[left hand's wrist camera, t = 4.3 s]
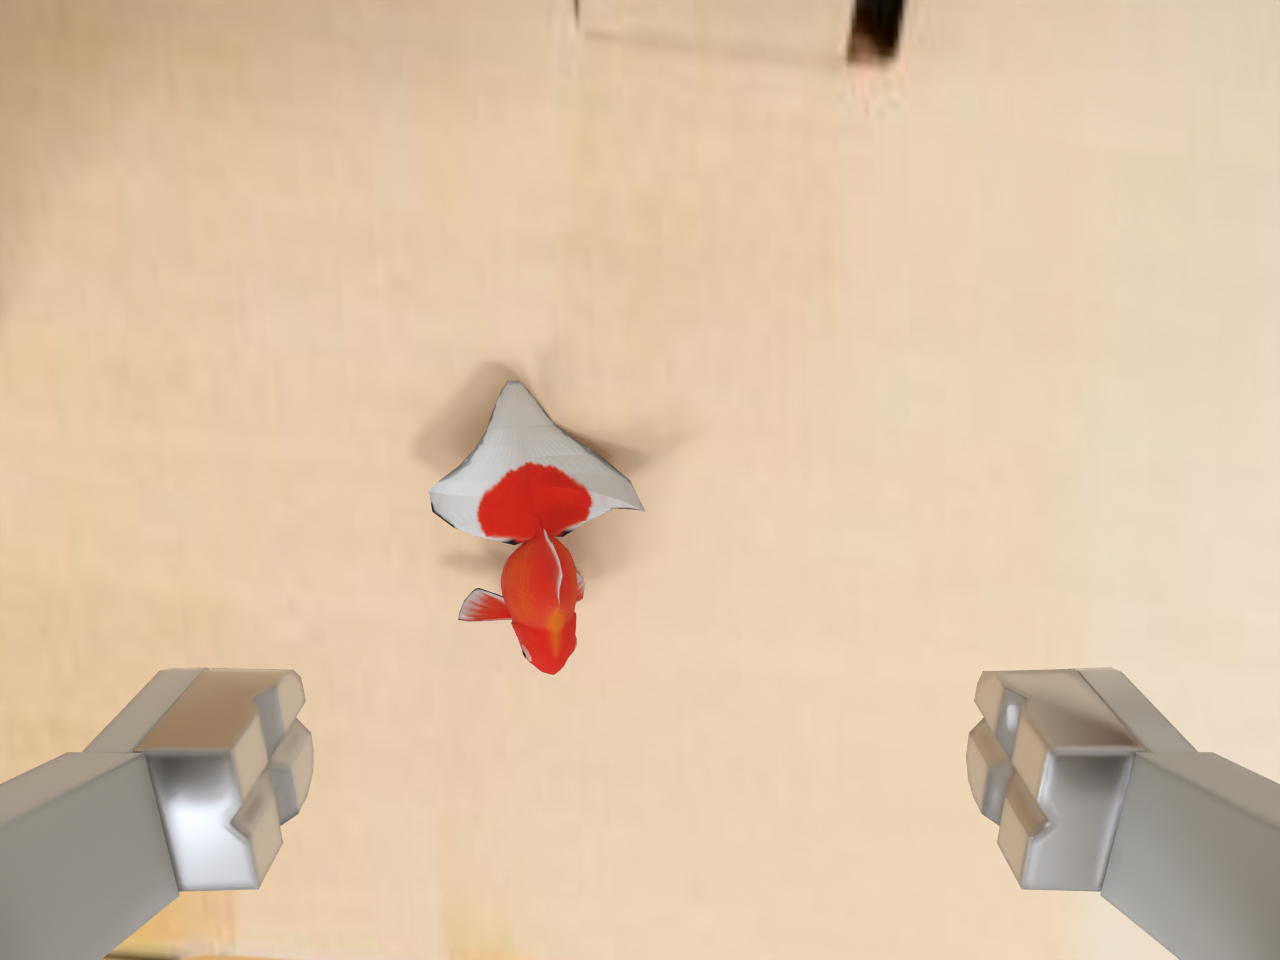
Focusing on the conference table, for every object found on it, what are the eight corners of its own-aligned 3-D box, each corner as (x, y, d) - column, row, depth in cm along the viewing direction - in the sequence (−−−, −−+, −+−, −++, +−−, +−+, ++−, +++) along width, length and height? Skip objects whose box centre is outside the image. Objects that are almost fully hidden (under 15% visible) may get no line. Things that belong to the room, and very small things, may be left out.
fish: (389, 649, 48) (418, 683, 39) (432, 379, 49) (471, 351, 40) (567, 662, 52) (631, 696, 43) (602, 414, 54) (672, 396, 45)
